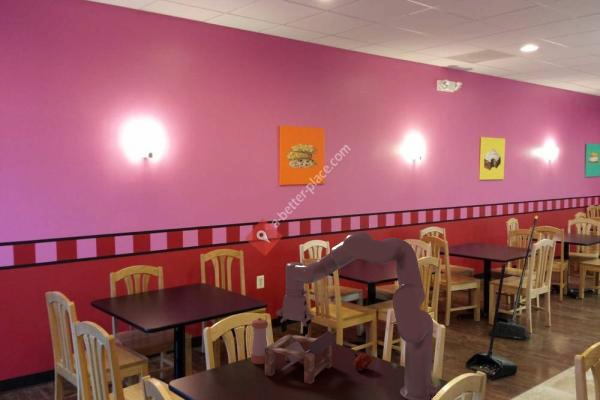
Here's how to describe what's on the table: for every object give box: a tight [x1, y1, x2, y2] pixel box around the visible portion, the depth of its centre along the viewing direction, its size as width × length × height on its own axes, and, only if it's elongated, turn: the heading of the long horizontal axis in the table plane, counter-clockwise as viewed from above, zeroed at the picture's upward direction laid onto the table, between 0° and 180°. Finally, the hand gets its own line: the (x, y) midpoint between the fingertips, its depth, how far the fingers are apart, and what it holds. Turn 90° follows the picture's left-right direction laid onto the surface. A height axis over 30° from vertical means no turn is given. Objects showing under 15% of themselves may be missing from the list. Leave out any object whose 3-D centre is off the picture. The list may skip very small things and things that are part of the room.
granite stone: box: [284, 340, 306, 362], centre depth 222 cm, size 5×5×6 cm
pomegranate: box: [353, 352, 373, 372], centre depth 222 cm, size 7×7×10 cm
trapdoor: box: [281, 330, 336, 371], centre depth 219 cm, size 21×14×5 cm
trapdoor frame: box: [264, 333, 333, 385], centre depth 221 cm, size 21×21×11 cm
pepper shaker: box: [250, 317, 269, 365], centre depth 231 cm, size 7×7×19 cm
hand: (294, 333), depth 221 cm, fingers open, 9 cm apart
